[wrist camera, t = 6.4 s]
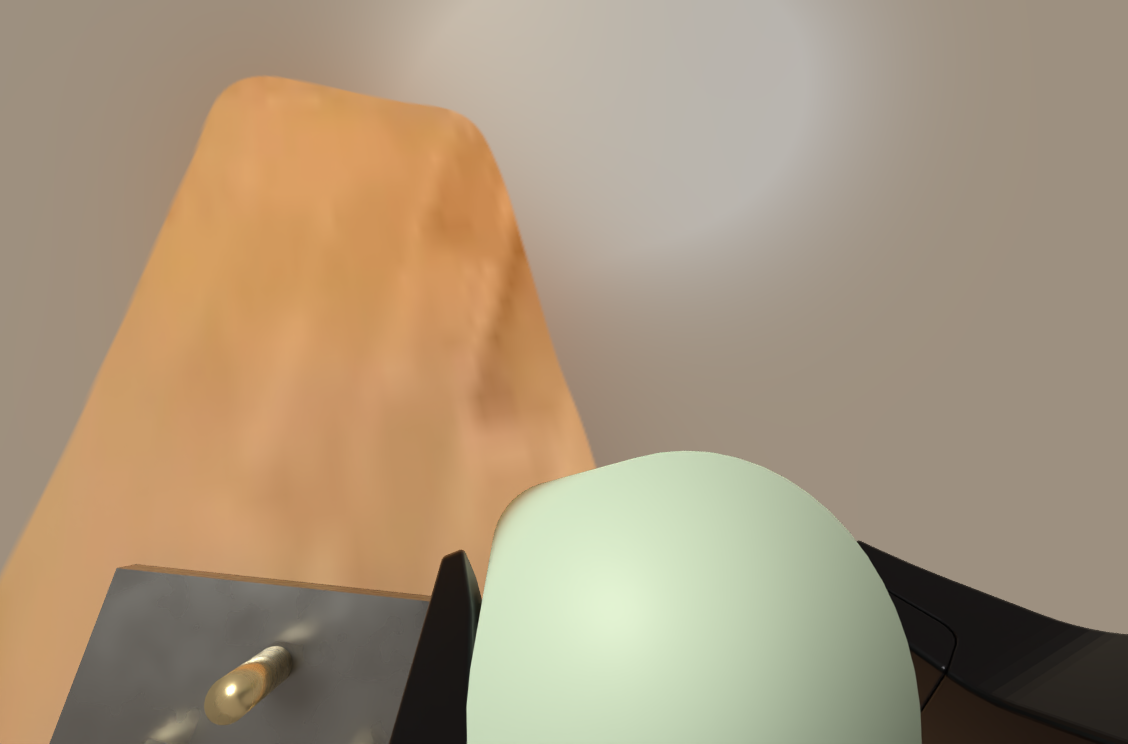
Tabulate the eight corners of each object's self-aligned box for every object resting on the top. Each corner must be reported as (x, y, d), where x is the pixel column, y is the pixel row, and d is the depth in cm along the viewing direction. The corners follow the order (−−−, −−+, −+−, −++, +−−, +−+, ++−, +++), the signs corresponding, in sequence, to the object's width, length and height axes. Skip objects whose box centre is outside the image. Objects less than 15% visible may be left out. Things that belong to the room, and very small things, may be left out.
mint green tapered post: (622, 489, 17) (898, 478, 5) (612, 623, 15) (948, 1012, 4) (503, 474, 16) (507, 424, 5) (481, 610, 15) (418, 1007, 3)
